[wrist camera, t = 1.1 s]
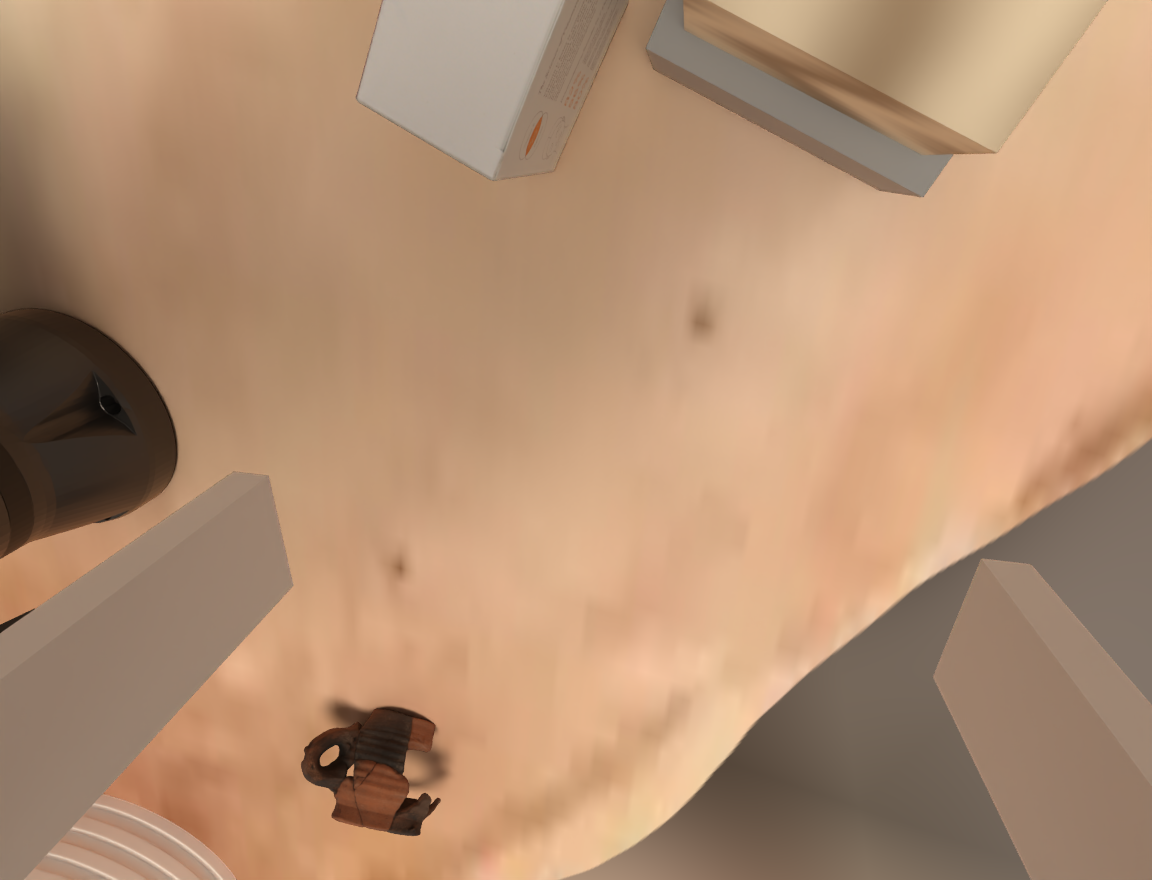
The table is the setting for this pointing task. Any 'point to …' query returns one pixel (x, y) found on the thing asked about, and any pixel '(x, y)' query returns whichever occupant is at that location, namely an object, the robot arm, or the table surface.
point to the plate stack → (128, 848)
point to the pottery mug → (373, 772)
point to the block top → (906, 59)
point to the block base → (787, 110)
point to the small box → (488, 75)
